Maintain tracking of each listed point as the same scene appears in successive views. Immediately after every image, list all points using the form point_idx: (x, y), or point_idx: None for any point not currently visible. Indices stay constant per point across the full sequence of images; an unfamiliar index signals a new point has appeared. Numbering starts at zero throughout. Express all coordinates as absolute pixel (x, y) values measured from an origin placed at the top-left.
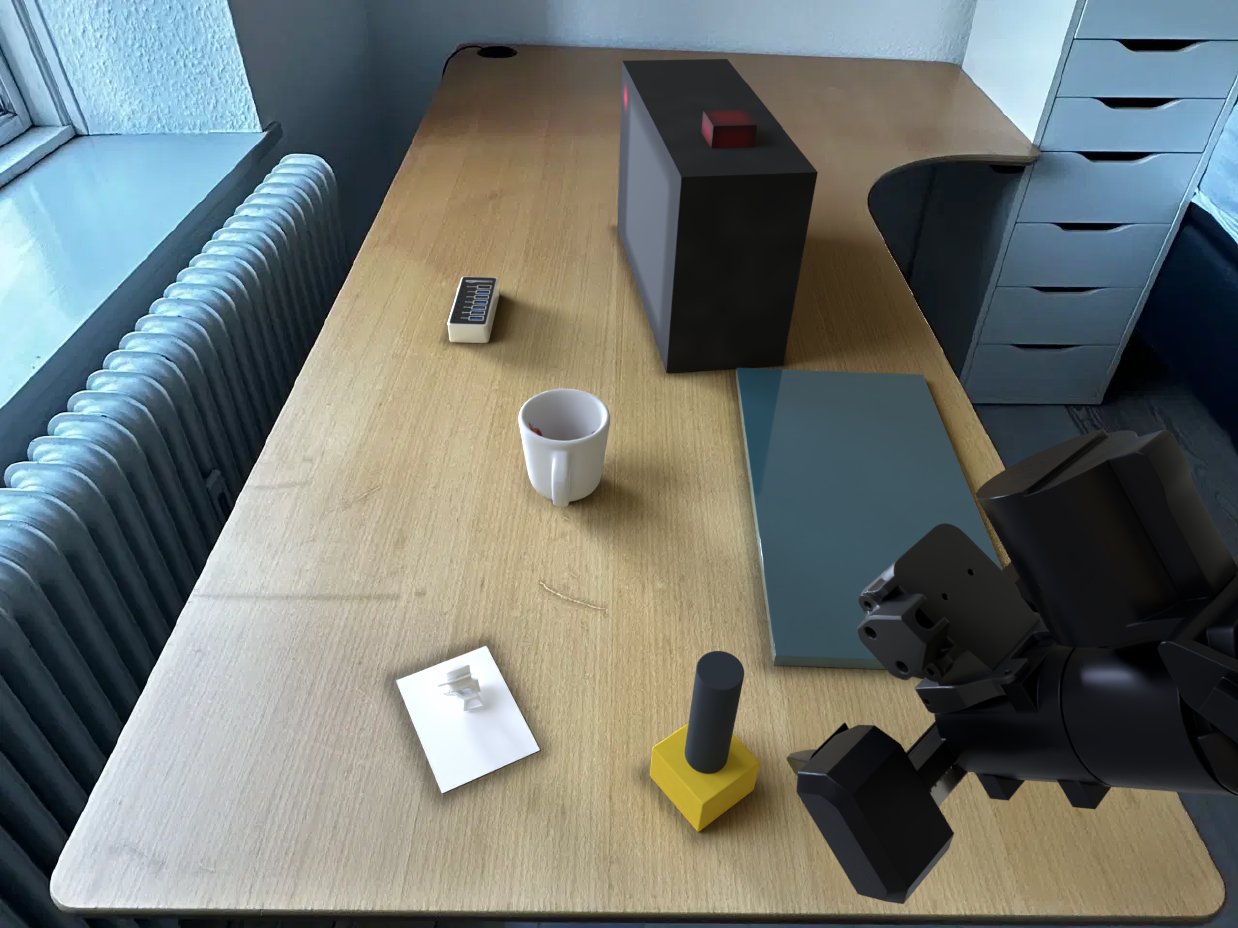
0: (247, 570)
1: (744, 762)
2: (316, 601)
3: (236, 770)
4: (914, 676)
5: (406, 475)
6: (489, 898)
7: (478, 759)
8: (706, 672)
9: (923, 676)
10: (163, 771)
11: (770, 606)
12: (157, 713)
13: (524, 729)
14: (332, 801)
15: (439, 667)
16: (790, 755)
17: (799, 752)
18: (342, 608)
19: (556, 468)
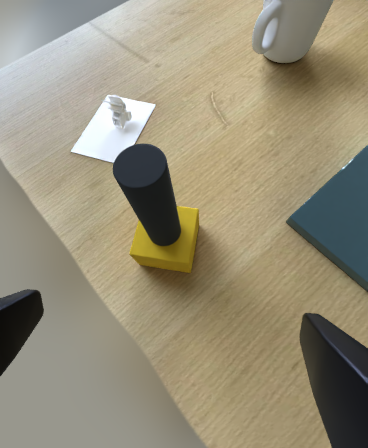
0: (111, 20)
1: (179, 255)
2: (118, 45)
3: (29, 90)
4: (308, 374)
5: (210, 11)
6: (37, 206)
7: (97, 149)
8: (126, 157)
9: (316, 398)
10: (13, 76)
11: (323, 187)
12: (33, 55)
13: None
14: (39, 124)
15: (128, 101)
16: (22, 292)
17: (5, 302)
18: (123, 54)
19: (263, 11)
